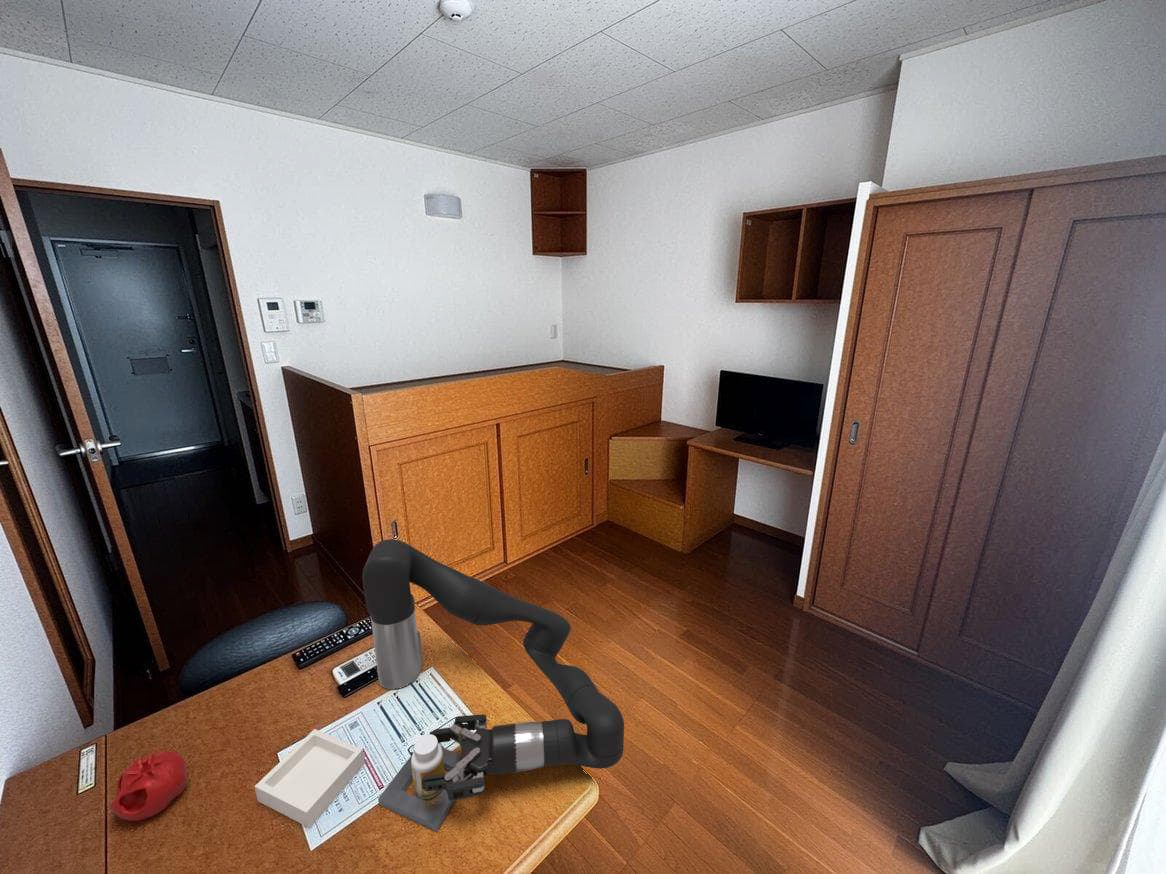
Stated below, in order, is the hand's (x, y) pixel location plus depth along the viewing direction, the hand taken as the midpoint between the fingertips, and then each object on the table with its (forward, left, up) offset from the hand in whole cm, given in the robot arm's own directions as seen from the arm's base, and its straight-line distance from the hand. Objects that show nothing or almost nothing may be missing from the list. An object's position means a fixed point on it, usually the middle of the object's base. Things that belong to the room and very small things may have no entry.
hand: (426, 759), depth 82 cm
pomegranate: (+19, -43, -6) cm, 47 cm away
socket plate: (0, 0, -6) cm, 6 cm away
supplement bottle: (0, 0, -6) cm, 7 cm away
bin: (+7, -20, -6) cm, 22 cm away
